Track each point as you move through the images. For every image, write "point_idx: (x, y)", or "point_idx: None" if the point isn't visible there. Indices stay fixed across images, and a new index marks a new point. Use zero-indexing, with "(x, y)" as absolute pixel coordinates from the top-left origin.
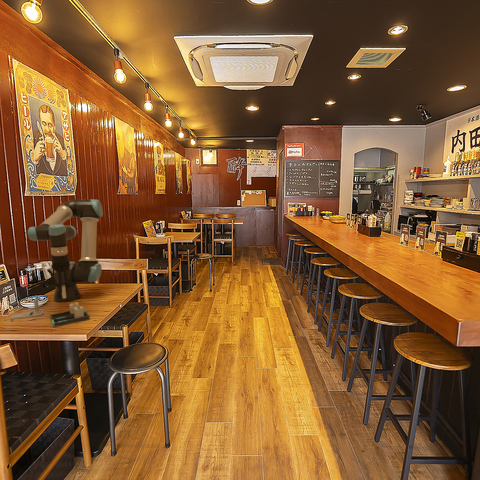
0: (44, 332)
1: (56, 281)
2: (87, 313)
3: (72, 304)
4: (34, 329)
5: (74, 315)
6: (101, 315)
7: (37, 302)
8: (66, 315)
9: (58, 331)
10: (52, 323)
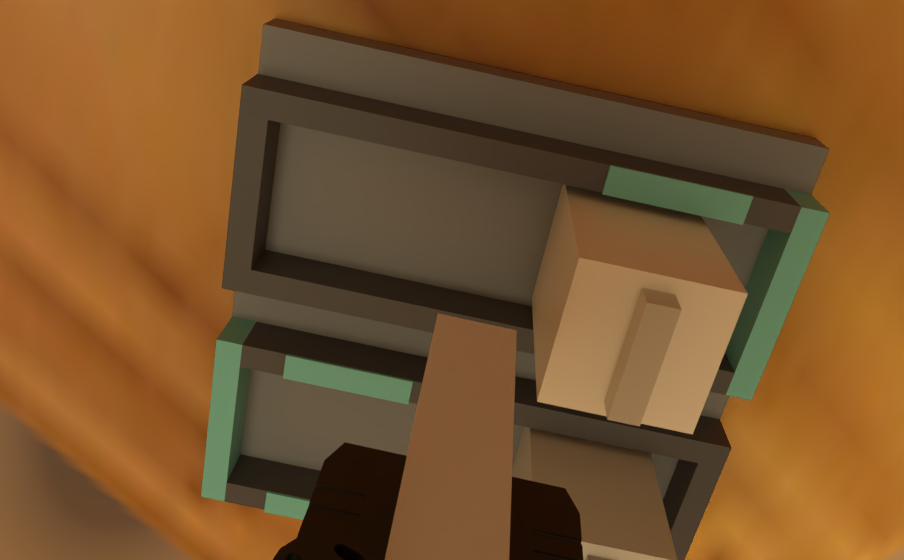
0: (124, 467)
1: None
2: (709, 499)
3: (599, 358)
4: (26, 283)
5: (523, 468)
6: (881, 480)
7: None
8: None
9: (261, 552)
10: (205, 469)
